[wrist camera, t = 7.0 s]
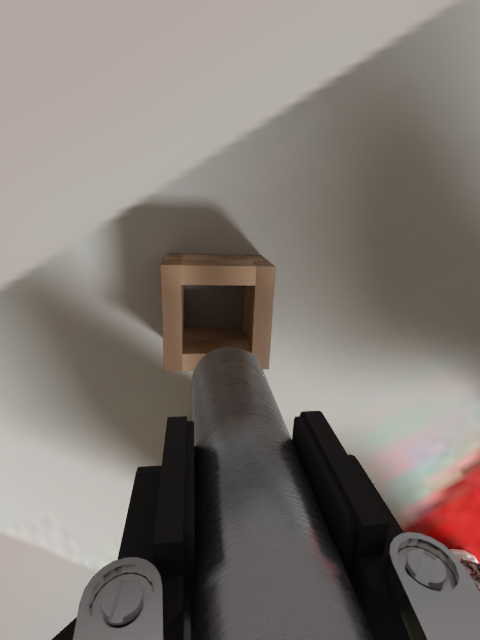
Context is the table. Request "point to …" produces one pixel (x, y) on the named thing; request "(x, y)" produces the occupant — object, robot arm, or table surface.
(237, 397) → the grey rounded rod
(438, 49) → the table surface
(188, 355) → the square wooden holder
